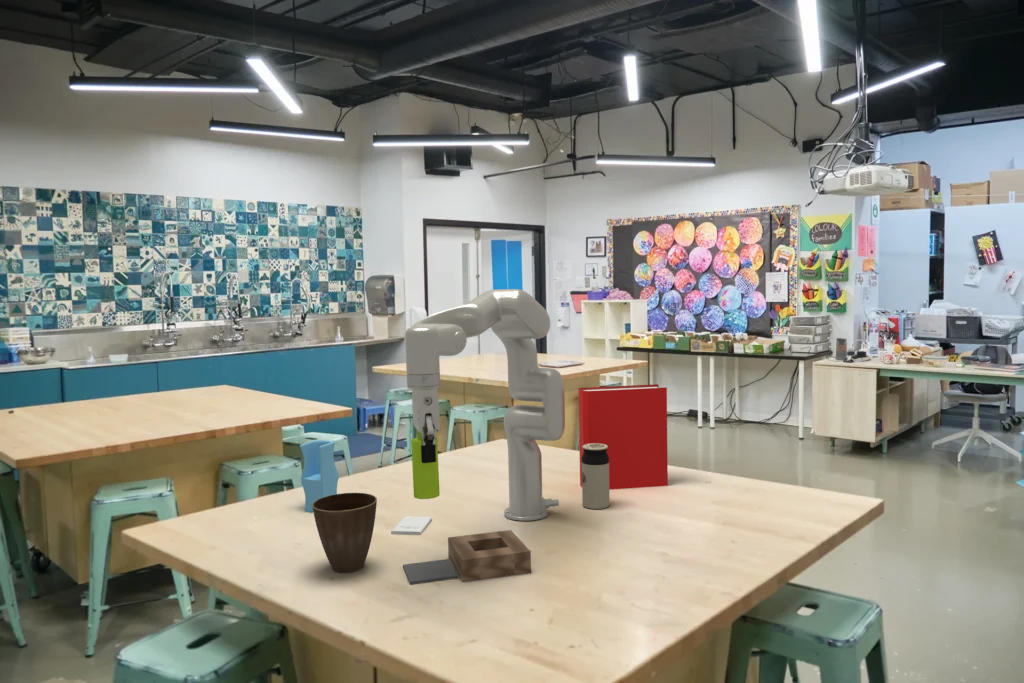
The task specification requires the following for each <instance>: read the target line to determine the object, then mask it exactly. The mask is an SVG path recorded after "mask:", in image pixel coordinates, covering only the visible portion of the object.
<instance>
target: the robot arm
mask: <svg viewBox="0 0 1024 683" xmlns="http://www.w3.org/2000/svg"><path fill="white" fill-rule="evenodd" d="M489 329H491V330H492V332H493V333H494V334H495V336H497V337H498V338H499V340H500V342H502V345H503V346H504V348H505V351H506V358H507V360H506V361H507V382H508V384H507V385H508V387H507V388H508V393H509V396H510V397H511V398H512V399H514V400H516V401H521V402H535V403H536V402H539V403H542V405H543V406H541V405H531V404H530V405H529V404H528V405H527V404H516V405H512V406H510V407H509V408H507V410H506V411H505V413H504V416H503V426H504V427H503V428H504V432H505V437H506V442H507V456H508V458H507V460H508V463H507V464H508V466H507V467H508V494H509V495H508V496H509V498H508V499H509V504H508V505H509V506H508V507H506V509H504V510H503V512H504V513H503V515H504V517H505V518H507V519H509V520H512V521H519V522H526V521H527V522H529V521H530V522H531V521H537V520H541V519H544V518H546V517H548V515H549V510H548V509H549V508H550V507H558V506H560V501H559V499H552V498H544V497H543V469H542V467H543V466H542V461H543V459H542V452H541V449H540V446H539V444H538V443H537V441H543V442H556V441H558V440H560V439H561V438H562V437H563V436H564V435H563V434H564V433H565V426H566V423H565V422H566V410H565V400H566V399H565V384H564V379H563V376H562V374H561V372H560V371H558V369H554V368H550V367H539V363H538V361H539V360H538V350H537V346H536V344H535V342H534V341H533V340H538V339H539V340H540V339H542V338H545V337H546V336H547V335H548V334H549V331H550V329H551V318H550V315H549V313H548V311H547V310H546V309H545V307H544V306H542V304H540V303H539V302H538V300H536V299H535V298H534V296H532V295H531V294H530V293H528V292H527V291H525V290H524V289H519V288H507V289H506V288H505V289H503V288H501V289H490V290H487V291H484V292H483V293H481V294H479V295H477V296H476V297H475V298H473V299H470V300H469V301H468V302H466V303H464V304H462V305H459V306H454V307H452V308H449V309H446V310H443V311H439V312H435V313H432V314H430V315H427V316H426V317H424V318H422V319H420V320H418V321H417V322H416V323H414V324H413V325H412V326H411V327H409V328H407V329H406V331H405V333H404V334H405V335H404V338H405V342H404V343H405V367H406V388H407V389H408V390H411V405H412V406H411V410H412V423H413V427H414V428H415V430H416V429H417V430H418V431H419V432H420V433H421V436H422V445H421V461H422V463H432V462H436V445H435V438H436V437H435V431H436V432H440V431H441V419H440V418H441V417H440V414H441V413H440V402H439V394H438V389H439V388H441V373H440V371H441V369H440V367H441V366H440V357H453V356H456V355H459V354H460V353H462V352H463V351H464V349H465V348H466V345H467V340H468V339H469V338H472V337H476V336H480V335H482V334H483V333H485V332H486V331H487V330H489ZM425 421H426V422H425ZM423 429H427V431H423ZM415 434H416V433H415ZM425 435H426V436H425ZM415 436H416V437H415V438H417V434H416V435H415Z"/></svg>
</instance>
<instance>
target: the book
mask: <svg viewBox="0 0 1024 683" xmlns="http://www.w3.org/2000/svg"><path fill="white" fill-rule="evenodd" d="M578 433H579V434H578V435H579V436H578V439H579V448H578V449H579V486H580V488H582V455H583V453H584V449H583V447H582V446H583V445H585V444H591V443H599V444H605V445H607V446H608V448H607V454H608V456H609V491H610V490H624V489H639V488H640V489H641V488H653V487H668V485H669V482H668V480H669V478H668V476H669V475H668V474H669V473H668V469H669V468H668V467H669V466H668V388H667V387H659V383H655V384H636V385H635V384H633V385H615V386H614V385H613V386H612V385H611V386H608V385H607V386H590V387H587V386H586V387H579V388H578Z"/></svg>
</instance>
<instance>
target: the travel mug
mask: <svg viewBox="0 0 1024 683" xmlns="http://www.w3.org/2000/svg"><path fill="white" fill-rule="evenodd" d="M582 447H583V449H584V453H583V455H582V487H581V489H582V490H581V492H582V496H581V498H582V500H581V501H582V506H583V507H584V508H587V509H590V510H602V509H606V508H608V507H609V506H610V504H611V503H610V499H611V498H610V490H609V456H608V454H607V448H608V446H607V445H605V444H599V443H591V444H585V445H583V446H582Z"/></svg>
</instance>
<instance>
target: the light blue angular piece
mask: <svg viewBox="0 0 1024 683" xmlns="http://www.w3.org/2000/svg"><path fill="white" fill-rule="evenodd" d="M335 444H336V441H335V440H323V439H318V440H317V439H316V440H315V439H314V440H311V441H308V442H305V443H302V444H300V445H299V447H300V450H301V453H302V456H303V462H304V463H303V471H302V474H301V477H300V482H301V485H302V488H303V492H304V498H305V500H304V502H305V504H304V512H307V513H314V512H313V507H312V504H313V503H314V502H315V501H316V500H318V499H320V498H323V497H326V496H330V495H335V494H338V482H339V477H340V474H339V471H338V469H337V467H336V463H335V458H334V452H335Z"/></svg>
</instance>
